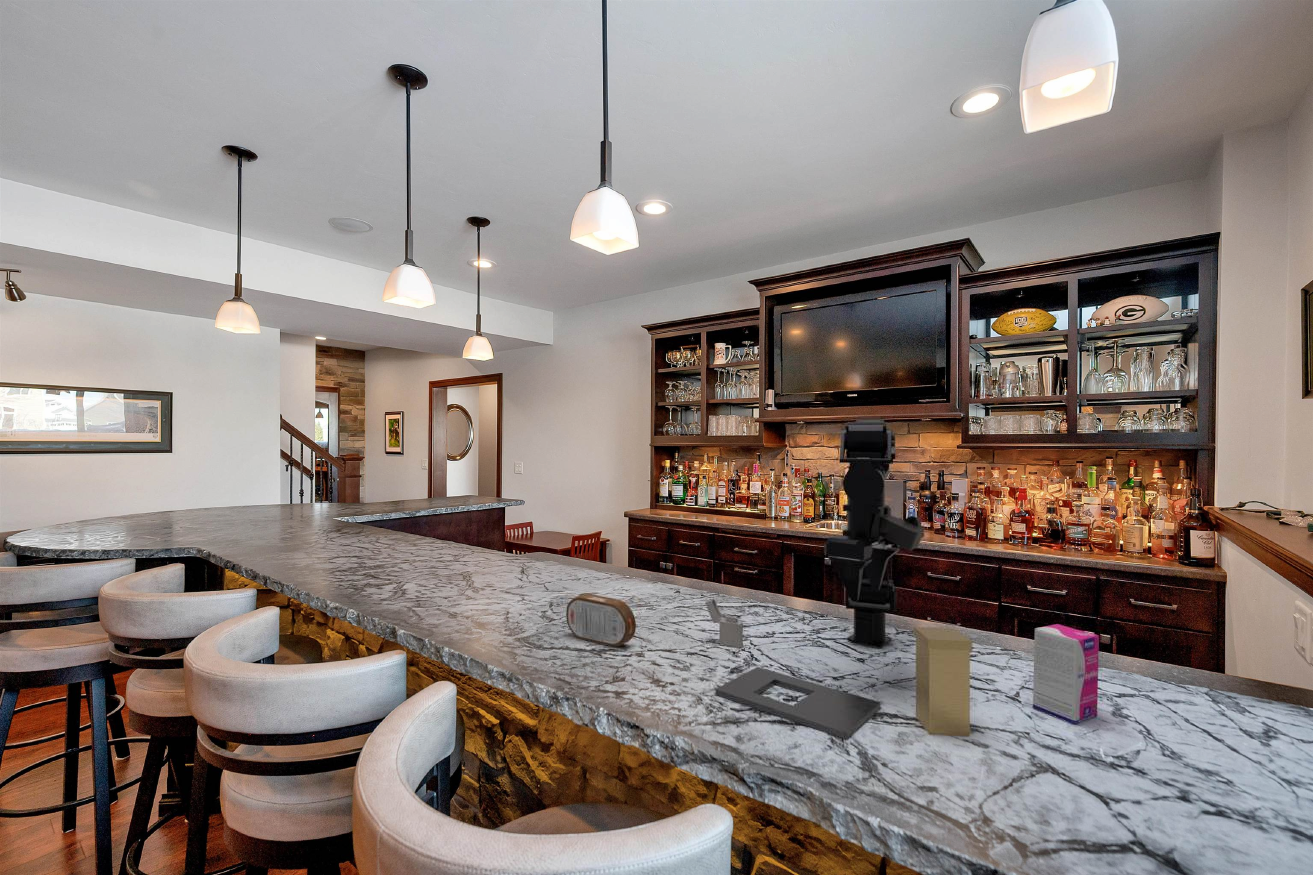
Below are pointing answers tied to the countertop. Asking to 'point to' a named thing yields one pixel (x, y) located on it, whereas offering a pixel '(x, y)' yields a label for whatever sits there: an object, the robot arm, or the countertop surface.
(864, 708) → the grey plate with hole
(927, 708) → the tan square peg
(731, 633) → the lighter
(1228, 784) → the countertop surface
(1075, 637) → the supplement box
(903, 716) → the countertop surface
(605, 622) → the tin
